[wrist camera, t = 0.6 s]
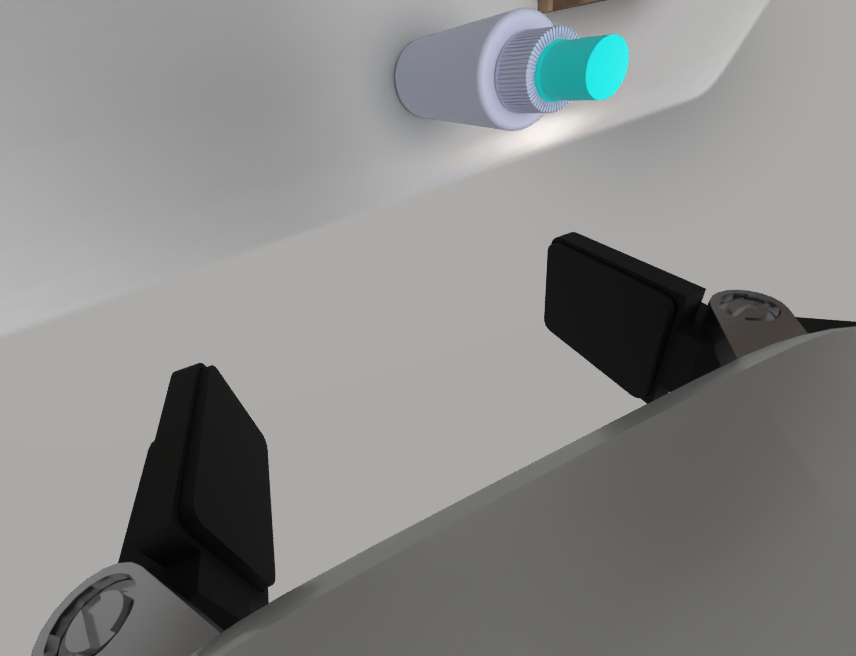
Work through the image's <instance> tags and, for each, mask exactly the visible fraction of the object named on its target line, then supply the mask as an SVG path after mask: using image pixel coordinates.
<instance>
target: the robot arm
mask: <svg viewBox="0 0 856 656" xmlns="http://www.w3.org/2000/svg"><path fill="white" fill-rule="evenodd" d="M705 290H706V289H705V288H703V287H701V286H698V285H696V284H694V283H691V282H689V281H687V280H684V279H682V278H680V277H677V276H675V275H673V274H670V273H668V272H666V271H663V270H661V269H659V268H657V267H654V266H652V265H650V264H647V263H645V262H643V261H640V260H638V259H636V258H634V257H631V256H629V255H627V254H624V253H622V252H620V251H617V250H615V249H613V248H610V247H608V246H606V245H604V244H601V243H599V242H597V241H594V240H592V239H589V238H587V237H585V236H583V235H580V234H578V233H575V232H571V233H569V234H565V235H563V236H560V237H557V238H555V239H554V240H553V241H552V243H551V245H550V246H549V248H548V258H547V277H546V296H545V315H544V321H545V324H546V326H547V328H548V329H549V330H550V331H551V332H552V333H554V334H555V335H556V336H557V337H559V338H560V339H561V340H562V341H564V342H565V343H566V344H568V345H569V346H570V347H571V348H572V349H574V350H575V351H576V352H578V353H579V354H580V355H581V356H583V357H584V358H585V359H587V360H588V361H589V362H590V363H591V364H593V365H594V366H595V367H596V368H598V369H599V370H601V371H602V372H603V373H604V374H605V375H607V376H608V377H609V378H611V379H612V380H613V381H614V382H615V383H617V384H618V385H619V386H620V387H622V388H623V389H624V390H626V391H627V392H628V393H629V394H631V395H632V396H634V397H636V398H641V399H642V400H643V401H645V402H646V403H647V404H646V405H644V406H642V407H641V408H639V409H637V410H635V411H633V412H631V413H629V414H627V415H625V416H623V417H621V418H619V419H617V420H615V421H613V422H611V423H609V424H608V425H605V426H603V427H601V428H600V429H597V430H596V431H594V432H592V433H590V434H588V435H586V436H584V437H582V438H580V439H578V440H576V441H574V442H572V443H570V444H568V445H566V446H564V447H563V448H561V449H559V450H557V451H555V452H553V453H551V454H549V455H547V456H545V457H543V458H541V459H539V460H537V461H535V462H534V463H531V464H530V465H528V466H526V467H524V468H522V469H520V470H518V471H516V472H514V473H512V474H510V475H508V476H506V477H504V478H502V479H500V480H499V481H497V482H495V483H493V484H491V485H489V486H487V487H485V488H483V489H481V490H479V491H477V492H476V493H474V494H472V495H470V496H468V497H466V498H464V499H462V500H460V501H458V502H456V503H455V504H453V505H451V506H449V507H447V508H445V509H443V510H441V511H439V512H437V513H435V514H433V515H432V516H430V517H428V518H426V519H424V520H422V521H420V522H418V523H416V524H414V525H412V526H410V527H408V528H407V529H405V530H403V531H401V532H399V533H397V534H395V535H393V536H391V537H389V538H388V539H386V540H384V541H382V542H380V543H378V544H376V545H374V546H372V547H370V548H368V549H367V550H365V551H363V552H361V553H359V554H357V555H356V556H354V557H352V558H350V559H348V560H347V561H345V562H343V563H341V564H339V565H337V566H335V567H333V568H332V569H330V570H328V571H326V572H324V573H322V574H321V575H319V576H317V577H315V578H313V579H311V580H310V581H308V582H306V583H304V584H302V585H301V586H298V587H297V588H295V589H293V590H291V591H289V592H287V593H286V594H284V595H282V596H281V597H279V598H277V599H276V600H274V601H272V602H270V603H268V587H269V586H271V585H273V584H274V582H275V562H274V547H273V546H274V545H273V530H272V514H271V498H270V481H269V465H268V450H267V444H266V441H265V439H264V436H263V435H262V433H261V432H260V430H259V429H258V427H257V426H256V425H255V423H254V421H253V420H252V419H251V417H250V416H249V414H248V413H247V411H246V410H245V408H244V407H243V406H242V404H241V403H240V401H239V400H238V398H237V397H236V396H235V394H234V393H233V391H232V390H231V388H230V387H229V385H228V384H227V383H226V381H225V380H224V378H223V377H222V375H221V374H220V373H219V371H218V370H217V368H216V367H215V366H213V365H212V366H208V367H206V366H205V365H204V364H203V363H198V364H195V365H193V366H190V367H187V368H184V369H181V370H178V371H175V372H173V374H172V376H171V380H170V383H169V387H168V391H167V395H166V399H165V403H164V407H163V411H162V414H161V418H160V422H159V426H158V430H157V434H156V438H155V441H154V442H152V444H151V445H150V447H149V450H148V454H147V458H146V461H145V465H144V468H143V473H142V476H141V480H140V483H139V487H138V491H137V495H136V498H135V502H134V506H133V510H132V513H131V517H130V520H129V524H128V528H127V532H126V535H125V539H124V543H123V547H122V551H121V555H120V558H119V562H118V563H117V564H115V565H112V566H110V567H107V568H104V569H102V570H101V571H99V572H98V573H96V574H94V575H93V576H91V577H90V578H88V579H86V580H85V581H84V582H83V583H82V584H81V585H79V586H78V587H77V588H76V589H75V590H74V591H72V592H71V593H70V594H69V595H68V596H67V597H66V598H65V600H64V601H63V602H62V603H61V604H60V605H59V606H58V607H57V609H56V610H55V611H54V612H53V614H52V615H51V617H50V618H49V620H48V621H47V623H46V624H45V626H44V627H43V629H42V630H41V632H40V634H39V636H38V639H37V641H36V643H35V646H34V648H33V650H32V655H31V656H856V322H851V321H839V320H825V319H813V318H800V317H795V316H794V315H793V314H792V312H791V311H790V310H789V309H788V307H786V306H785V305H784V304H783V303H782V302H780V301H778V300H777V299H775V298H773V297H770V296H767V295H764V294H761V293H757V292H752V291H746V290H726V291H722V292H718V293H716V294H714V295H713V296H712V297H711V299H710V301H709V303H708V305H706V304H704V303H702V302H701V301H702V298H703V295H704V293H705ZM668 392H670V393H668Z"/></svg>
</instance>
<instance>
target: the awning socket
mask: <svg viewBox="0 0 856 656" xmlns="http://www.w3.org/2000/svg"><path fill="white" fill-rule="evenodd" d="M600 1H605V0H538V11H540V12H541V13H547V12H552V11H557V10H561V9H566V8H571V7H576V6H581V5H585V4H590V3H595V2H600Z"/></svg>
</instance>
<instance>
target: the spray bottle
mask: <svg viewBox="0 0 856 656" xmlns="http://www.w3.org/2000/svg"><path fill="white" fill-rule="evenodd" d="M572 30H573V29H572V28H571V29H570V27H567V26H554V25H553V23H552V22H551V21H550V20H549V18H548V17H546V16H545V15H544V14H543V13H541V12H540V11H538V10H535V9H531V8H519V9H515V10H512V11H508V12H505V13H502V14H499V15H495V16H492V17H489V18H485V19H482V20H479V21H475V22H472V23H469V24H466V25H462V26H459V27H456V28H452V29H449V30H446V31H442V32H439V33H436V34H433V35H429V36H426V37H423V38H419V39H417V40H414V41H413V42H411V43H410V44H409V45H408V46H407V47H406V48H405V49H404V50H403V52H402V53H401V55H400V57H399V60H398V63H397V66H396V73H395V82H396V88H397V92H398V95H399V98H400V100H401V102H402V103H403V105H404V106H405V107H406V108H407V109H408V110H409V111H410V112H411V113H413V114H414V115H416V116H418V117H422V118H429V119H435V120H442V121H449V122H455V123H462V124H469V125H475V126H482V127H488V128H495V129H502V130H509V131H516V130H521V129H524V128H527V127H529V126H530V125H532V124H533V123H535V122H536V121H537V120H539V119H540V118H541V117H542V116H543V114H544V113H553V112H556V111H559V110H561V108H564V106H566V105H567V104H568V103H569V101H571V100H604V99H607V98H609V97H610V96H612V95H613V94H614V93H615V92H616V91H617V89H618V88H619V87H620V85H621V83H622V82H623V79H624V77H625V75H626V71H627V67H628V61H629V53H628V47H627V44H626V42H625V40H624V39H623V38H622V37H621V36H619V35H616V34H612V35H604V36H596V37H587V38H579V35H578V36H577V33H575V31H574V30H573V31H572Z"/></svg>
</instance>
